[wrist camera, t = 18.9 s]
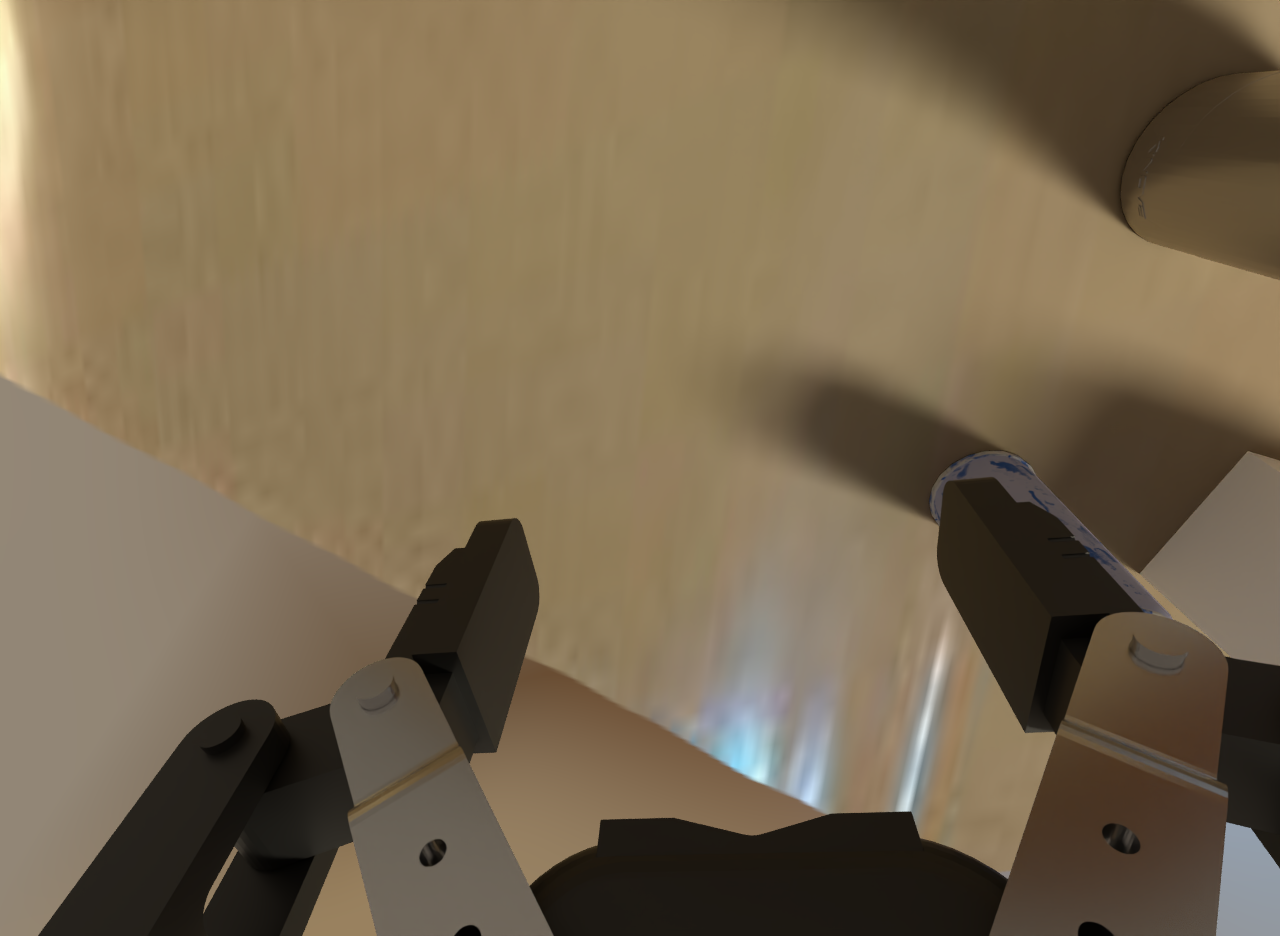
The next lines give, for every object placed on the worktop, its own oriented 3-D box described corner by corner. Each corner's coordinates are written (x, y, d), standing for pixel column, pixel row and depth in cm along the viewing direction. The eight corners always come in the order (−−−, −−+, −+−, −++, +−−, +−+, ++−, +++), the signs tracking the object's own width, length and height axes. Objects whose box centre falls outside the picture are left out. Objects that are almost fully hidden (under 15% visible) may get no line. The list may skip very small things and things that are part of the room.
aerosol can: (930, 458, 48) (1071, 657, 30) (1041, 443, 46) (1254, 641, 29) (927, 541, 51) (1051, 761, 34) (1030, 529, 50) (1213, 750, 33)
